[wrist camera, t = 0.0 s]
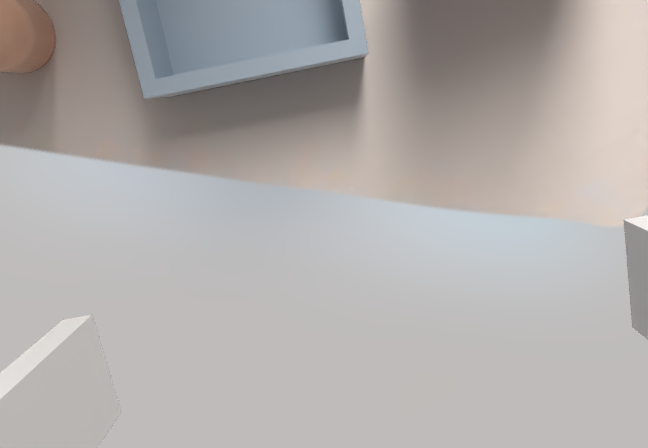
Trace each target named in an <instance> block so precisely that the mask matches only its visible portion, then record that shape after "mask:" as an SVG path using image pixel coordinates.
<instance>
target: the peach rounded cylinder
mask: <svg viewBox="0 0 648 448" xmlns="http://www.w3.org/2000/svg"><path fill="white" fill-rule="evenodd" d="M54 48H55V30H54V27H53V24H52V21H51V19H50V18H49V16H48V14H47V13H46V12H45V11H44V9H43V8H41V7H40V6H39V5H38V4H37V3H35V2H33V1H32V0H0V72H18V73H27V72H32V71H35V70H38V69H39V68H41V67H43V66H44V65H45V64H46V63H47V62H48V61H49V59H50V58H51V56H52V54H53V51H54Z"/></svg>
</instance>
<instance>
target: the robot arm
mask: <svg viewBox="0 0 648 448" xmlns="http://www.w3.org/2000/svg"><path fill="white" fill-rule="evenodd" d="M624 230H625V240H626V241H625V242H626V255H627V266H628V278H629V292H630V304H631V315H632V327H633V328H634V329H635V330H637V331H638V332H639V333H640V334H642V335H643V336H644V337H645V338H646V339H648V216H642V217H636V218H631V219H625V220H624ZM120 414H121V408H120V405H119V402H118V398H117V395H116V392H115V388H114V385H113V382H112V379H111V375H110V372H109V368H108V365H107V362H106V358H105V355H104V352H103V348H102V345H101V342H100V339H99V335H98V332H97V329H96V325H95V322H94V319H93V315H87V316H81V317H75V318H70V319H64V320H62V321H61V322H60V323H59V324H57V325H56V326H55V327H54V328H53V329H52V330H50V331H49V332H48V333H47V334H46V335H45V336H43V337H42V338H41V339H40V340H38V341H37V342H36V343H35V344H34V345H33V346H31V347H30V348H29V349H28V350H27V351H25V352H24V353H23V354H22V355H21V356H19V357H18V358H17V359H16V360H15V361H14V362H12V363H11V364H10V365H9V366H8V367H6V368H5V369H4V370H3V371H2V372H1V373H0V448H98V446H99V445H100V443H101V442H102V440H103V439H104V438H105V436H106V435H107V433H108V432H109V430H110V428H111V427H112V426H113V424H114V422H115V421H116V419H117V418H118V417H119V415H120Z"/></svg>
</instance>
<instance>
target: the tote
mask: <svg viewBox="0 0 648 448" xmlns="http://www.w3.org/2000/svg"><path fill="white" fill-rule="evenodd" d="M119 4H120V7H121V11H122V15H123V19H124V23H125V27H126V31H127V35H128V39H129V42H130V46H131V50H132V54H133V58H134V62H135V66H136V70H137V73H138V77H139V81H140V85H141V89H142V93H143V97H144V99H145V98H164V97H171V96H176V95H181V94H186V93H191V92H196V91H201V90H206V89H211V88H216V87H221V86H226V85H230V84H235V83H240V82H245V81H250V80H255V79H260V78H265V77H270V76H275V75H280V74H285V73H290V72H295V71H300V70H304V69H309V68H314V67H319V66H324V65H329V64H334V63H339V62H344V61H349V60H354V59H359V58H364V57H366V55H367V54H368V53H369V52H368V47H367V41H366V35H365V29H364V23H363V17H362V11H361V6H360V0H119Z"/></svg>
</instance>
